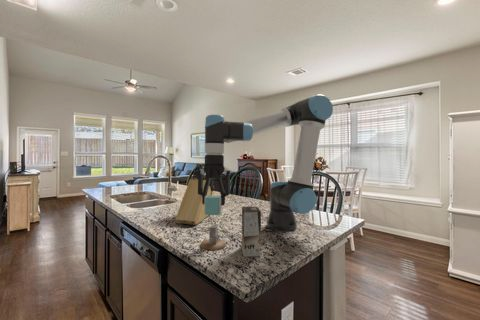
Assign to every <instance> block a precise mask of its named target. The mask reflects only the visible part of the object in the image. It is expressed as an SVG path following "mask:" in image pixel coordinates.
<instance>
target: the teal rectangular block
mask: <svg viewBox="0 0 480 320" xmlns="http://www.w3.org/2000/svg"><path fill="white" fill-rule="evenodd" d="M219 197H221V195H211V196H208V197H206V198H205V215H208V216H219V215H220V214H219Z"/></svg>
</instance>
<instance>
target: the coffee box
mask: <svg viewBox="0 0 480 320" xmlns="http://www.w3.org/2000/svg"><path fill="white" fill-rule="evenodd" d="M261 226H262V211H261V210H260V209H259V207H258V206H242V207H241V252H242V256H243V257H246V258H247V257H250V258H251V257H260V256H261V247H262V246H261V245H262V244H261V240H262V239H261V238H262V236H261V235H262V231H261V230H262V227H261Z"/></svg>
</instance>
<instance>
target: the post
mask: <svg viewBox="0 0 480 320" xmlns="http://www.w3.org/2000/svg"><path fill="white" fill-rule="evenodd" d="M218 230H219V228H218V225H210V226H209V233H208V235H209V238H208V239H204V240H203V241H201V242H200V248H201V249H202V250H206V251H220V250H222V249H225V248H226V246H227V242H226V241H225V240H223V239H221V238H218V234H219V233H218Z"/></svg>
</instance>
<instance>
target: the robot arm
mask: <svg viewBox="0 0 480 320" xmlns="http://www.w3.org/2000/svg"><path fill="white" fill-rule="evenodd" d="M330 100H331V99H330V98H329V97H327V96H326V95H324V94H316V95H311V96H310V97H307V98H304V99H302V100H299V101H297V102H295V103H293V104H291V105H288V106H286V107H283V108H281V109H280V110H279V111H277V112H272V113H269V114H265V115H262V116H259V117H255V118H251V119H248V120H244V121H240V122H238V121H227V120H225V116H224V115H221V114H208V115H207V116H205V121H204V122H205V124H204V153H205V155H204V167H203V169H201V170H197V173H198V194H199V195H202V204H205V198H206V197H208V196H206V195H207V192H208V188H209V185H210V181H211V178H214V179H216V181H217V186H218V189H219V193H220V196H221V197H219V215H222V214H223V209H224V208H223V206H225V204H226V197H228V196H229V195H230V194H231V188H230V187H231V183H230V180H231V178H230V177H231V173H232V171H231V170H228V169H226V168H225V166H224V164H225V163H224V161H225V160H224V159H225V158H224V157H225V156H224V154H225V144H226V143H227V144H228V143H229V144H230V143H233V142H238V141H239V142H240V141H242V142H249V141H251V140H252V138H253V136H255V135H258V134H262V133H265V132H268V131H272V130H276V129H279V128H281V127H286V128H287V127H292V126H297V125H299V126H300V133H299V137H298V143H297V148H296V153H295V160H294V165H293V169H292V175H291V177H290V178H289V179H288V180H287V181H273V182H271V183H270V188H269V189H270V190H269V191H270V192H269V193H270V198H269V199H270V201H269V203H270V205H269V207H270V208H269V209H270V210H269V214H268V217H267V220H266V227H267V228H268V229H271V230H273V231H279V232H280V231H281V232H290V231H291V232H292V231H294V230H296V229H297V227H298V226H297V225H298V223H297V220H296V216H295V214H299V215H305V214H308V213H310V212H311V211H313V210H314V208H315V207H316V205H317V195H316V193H315V191H314V186H315V185H314V184H313V182H312V178H313V171H314V166H315V161H316V155H317V151H318V145H319V139H320V135H321V130H322V129H324V128H325V125H326V120H329V118H331V116H332V115H333V112H334V111H333V110H334V109H333V108H334V107H333V104H332V101H330ZM204 173H205V175H206V174H207V177H206V182H205V186H204V189H203V177H204ZM223 174H224V175H225V178H224V179H225V183H223V179H222V175H223ZM224 184H225V186H224ZM224 187H225V188H224ZM204 213H205V206H204Z"/></svg>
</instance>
